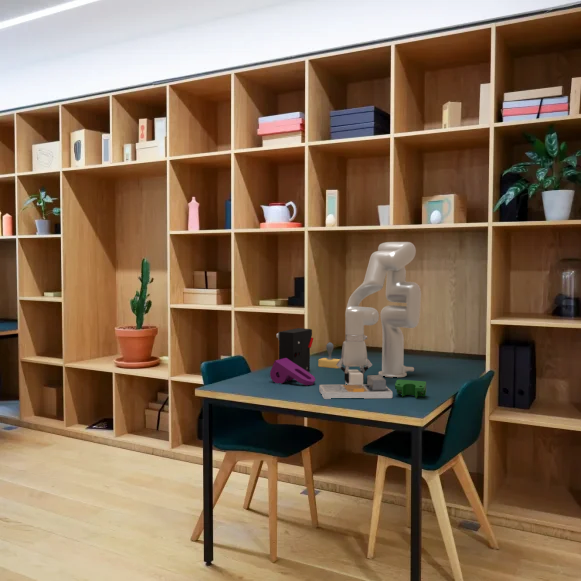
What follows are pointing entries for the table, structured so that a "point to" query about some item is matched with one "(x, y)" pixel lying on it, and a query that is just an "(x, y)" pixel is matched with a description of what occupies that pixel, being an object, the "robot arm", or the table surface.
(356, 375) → the cream upright block
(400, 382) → the clamp
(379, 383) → the grey compartment tray
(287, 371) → the mounting bracket
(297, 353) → the electrical component
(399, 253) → the robot arm
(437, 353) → the table surface
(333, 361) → the rubber stamp
